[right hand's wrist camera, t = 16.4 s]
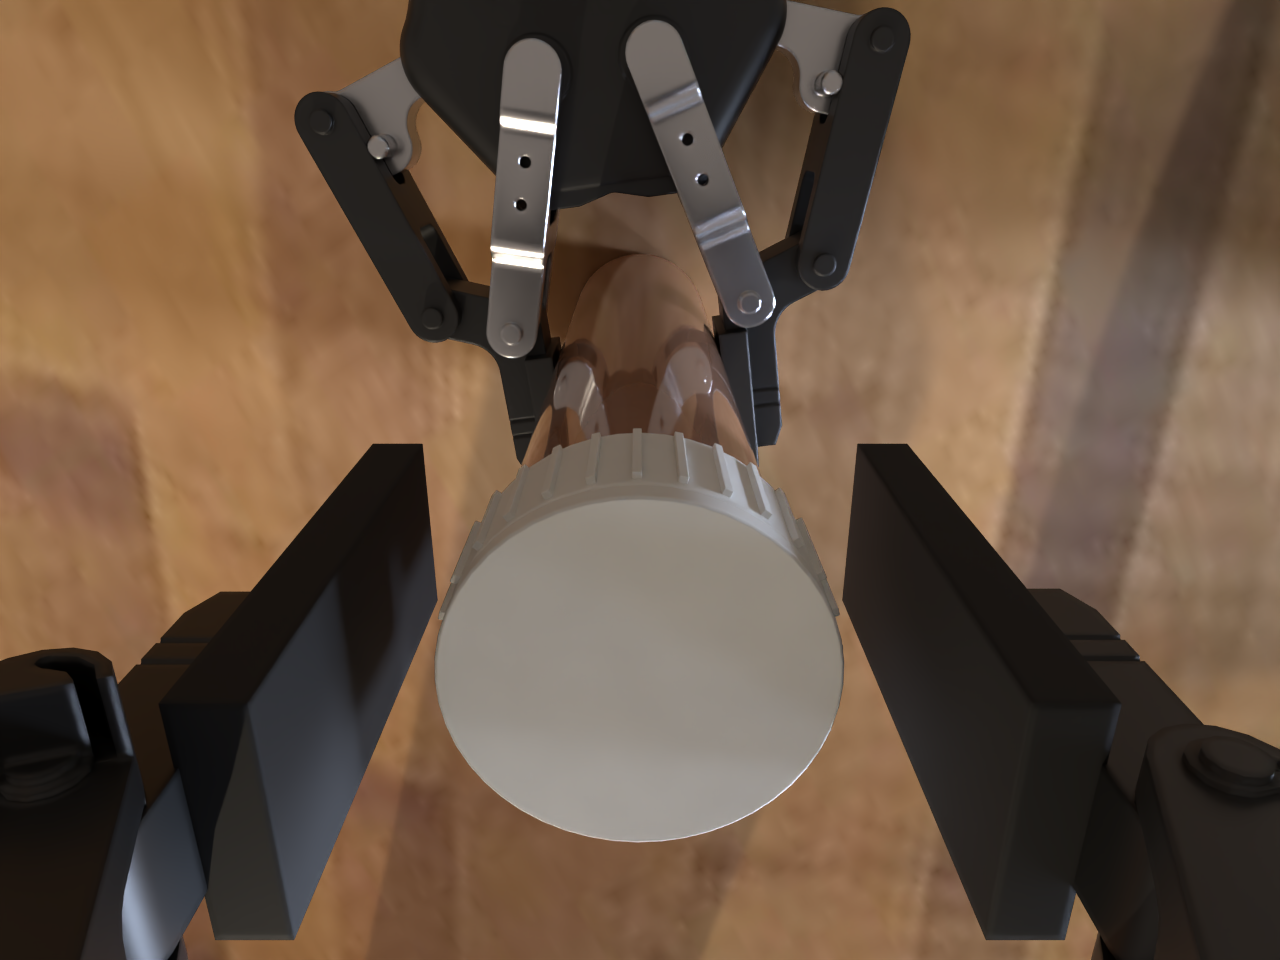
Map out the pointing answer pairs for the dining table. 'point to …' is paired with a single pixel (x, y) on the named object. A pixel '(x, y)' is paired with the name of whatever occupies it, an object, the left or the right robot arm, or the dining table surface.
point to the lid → (639, 640)
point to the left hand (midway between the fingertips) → (652, 468)
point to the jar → (639, 365)
